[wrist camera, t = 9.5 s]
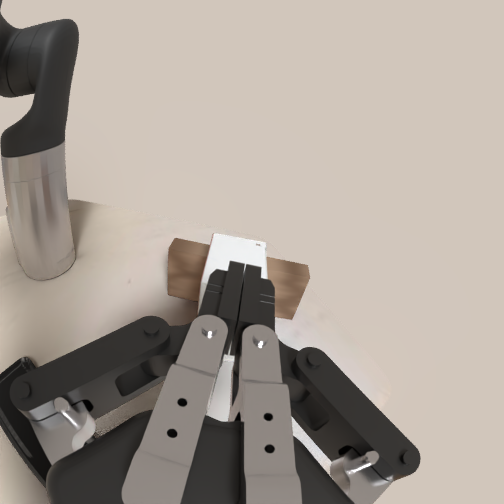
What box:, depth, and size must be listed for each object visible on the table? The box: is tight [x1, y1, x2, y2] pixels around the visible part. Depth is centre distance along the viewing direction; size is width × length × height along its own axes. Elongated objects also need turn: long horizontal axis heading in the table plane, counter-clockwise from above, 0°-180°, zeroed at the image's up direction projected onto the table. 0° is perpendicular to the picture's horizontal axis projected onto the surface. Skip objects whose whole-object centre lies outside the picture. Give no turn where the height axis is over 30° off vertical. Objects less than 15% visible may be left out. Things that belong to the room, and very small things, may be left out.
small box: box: [197, 233, 268, 362], centre depth 27 cm, size 8×6×10 cm
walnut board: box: [168, 238, 310, 320], centre depth 32 cm, size 16×2×7 cm, turn 86°
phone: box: [0, 357, 96, 489], centre depth 14 cm, size 8×1×15 cm
